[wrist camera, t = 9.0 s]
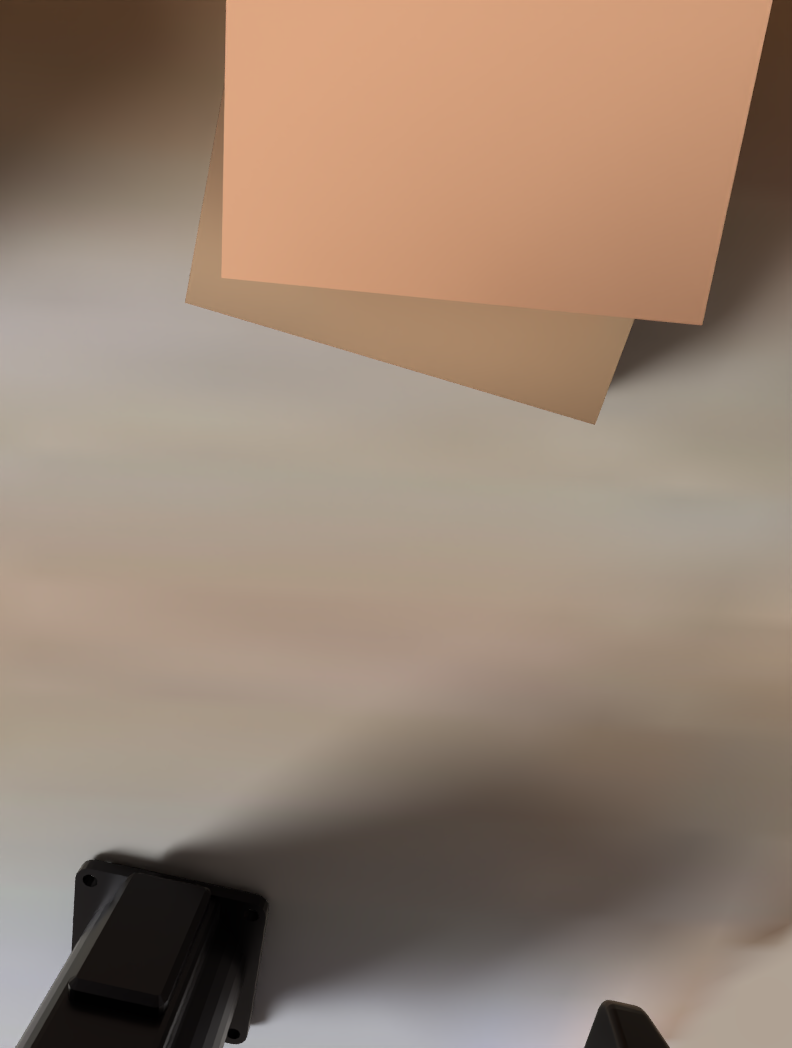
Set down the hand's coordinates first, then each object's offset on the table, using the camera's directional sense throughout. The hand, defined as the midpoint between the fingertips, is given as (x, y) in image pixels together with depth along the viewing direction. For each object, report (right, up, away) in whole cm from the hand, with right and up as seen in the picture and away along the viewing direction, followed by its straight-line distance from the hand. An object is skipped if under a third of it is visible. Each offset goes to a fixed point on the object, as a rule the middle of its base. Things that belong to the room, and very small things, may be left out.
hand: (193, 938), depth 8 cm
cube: (+4, +12, +6) cm, 14 cm away
